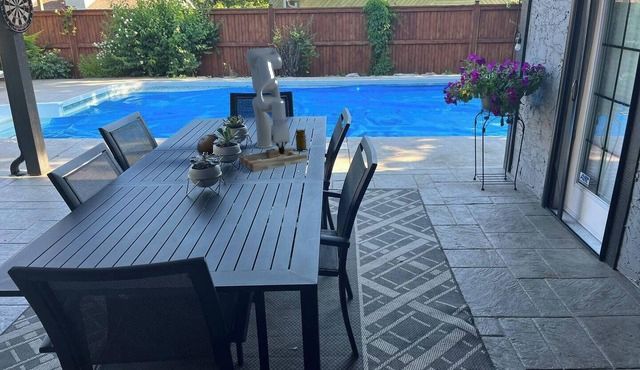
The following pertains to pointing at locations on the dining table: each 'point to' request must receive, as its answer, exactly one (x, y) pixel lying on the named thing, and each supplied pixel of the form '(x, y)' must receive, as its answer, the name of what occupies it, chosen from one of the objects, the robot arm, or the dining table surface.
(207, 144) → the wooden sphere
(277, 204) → the dining table surface
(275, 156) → the walnut block
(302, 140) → the condiment
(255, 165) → the trap track
